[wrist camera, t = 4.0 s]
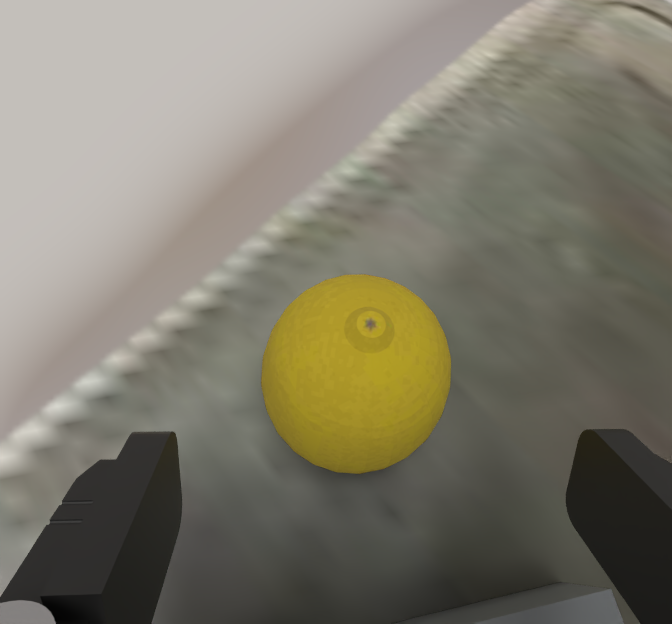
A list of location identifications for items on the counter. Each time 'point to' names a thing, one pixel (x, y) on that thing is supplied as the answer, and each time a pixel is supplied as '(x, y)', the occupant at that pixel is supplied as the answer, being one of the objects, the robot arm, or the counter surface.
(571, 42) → the counter surface
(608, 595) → the tray
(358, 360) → the lemon
